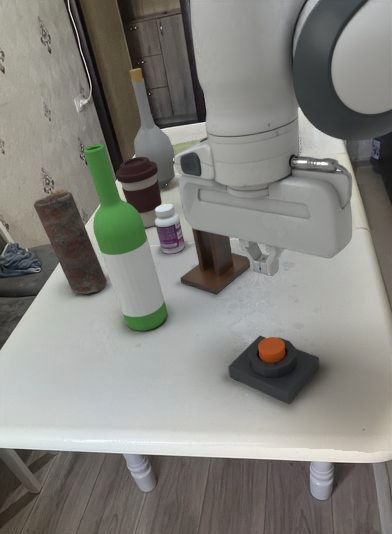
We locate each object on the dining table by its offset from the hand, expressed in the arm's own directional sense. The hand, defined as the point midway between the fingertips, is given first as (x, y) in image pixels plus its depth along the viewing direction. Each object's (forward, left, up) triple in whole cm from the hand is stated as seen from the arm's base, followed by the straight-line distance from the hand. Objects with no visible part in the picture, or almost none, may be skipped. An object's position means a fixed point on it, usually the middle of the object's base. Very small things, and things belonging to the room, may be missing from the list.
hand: (264, 271), depth 53 cm
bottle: (+70, -48, -17) cm, 87 cm away
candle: (+47, -2, -17) cm, 50 cm away
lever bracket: (+25, -18, -17) cm, 35 cm away
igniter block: (0, 0, -17) cm, 17 cm away
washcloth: (+82, -72, -17) cm, 110 cm away
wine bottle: (+27, 0, -17) cm, 32 cm away
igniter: (0, 0, -13) cm, 13 cm away
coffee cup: (+57, -30, -17) cm, 67 cm away
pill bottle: (+41, -22, -17) cm, 50 cm away
